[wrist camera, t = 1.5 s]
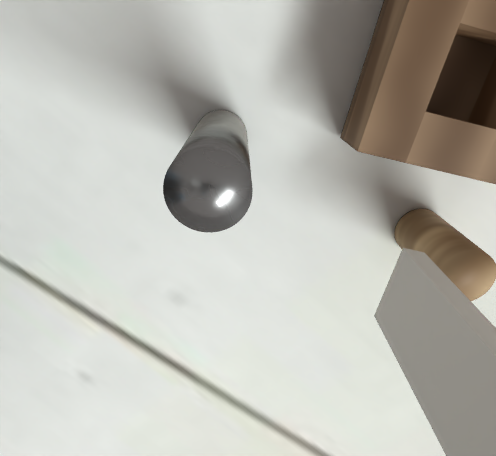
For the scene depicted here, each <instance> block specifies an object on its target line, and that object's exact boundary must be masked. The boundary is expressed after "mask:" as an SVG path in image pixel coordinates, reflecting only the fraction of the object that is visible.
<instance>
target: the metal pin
mask: <svg viewBox="0 0 496 456" xmlns="http://www.w3.org/2000/svg"><path fill="white" fill-rule="evenodd" d="M163 193H164V198H165V202H166V204H167V206H168V209H169V210H170V212H171V213H172V215H173V216H174V217H175V218H176V219H177V220H178V221H179V222H181V223H182V224H183V225H185V226H187V227H189V228H191V229H193V230H196V231H200V232H218V231H222V230H225V229H228V228H230V227H232V226H233V225H235V224H236V223H237V222H238V221H240V220H241V219H242V217H243V216H244V215H245V214H246V212H247V210H248V208H249V206H250V203H251V199H252V181H251V170H250V160H249V149H248V139H247V131H246V127H245V125H244V123H243V122H242V120H241V119H240V118H239V117H238V116H237V115H235V114H234V113H232V112H230V111H226V110H215V111H212V112H209V113H208V114H206V115H205V116H204V117H203V118H202V119H201V120H200V121H199V123H198V124H197V126H196V127H195V129H194V130H193V132H192V133H191V135H190V136H189V138H188V139H187V141H186V143H185V144H184V146H183V147H182V149H181V150H180V152H179V153H178V155H177V156H176V158H175V159H174V161H173V162H172V164H171V165H170V167H169V169H168V170H167V173H166V175H165V179H164V185H163Z"/></svg>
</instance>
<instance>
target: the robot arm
mask: <svg viewBox="0 0 496 456" xmlns="http://www.w3.org/2000/svg"><path fill="white" fill-rule="evenodd" d="M374 316H375V318H376V320H377V322H378V324H379V326H380V328H381V330H382V332H383V334H384V336H385V338H386V340H387V341H388V343H389V345H390V347H391V349H392V351H393V353H394V355H395V357H396V359H397V361H398V363H399V365H400V367H401V369H402V371H403V373H404V374H405V376H406V378H407V380H408V382H409V384H410V386H411V388H412V390H413V392H414V394H415V396H416V398H417V400H418V402H419V404H420V406H421V408H422V409H423V411H424V413H425V415H426V417H427V419H428V421H429V423H430V425H431V427H432V429H433V431H434V433H435V435H436V437H437V439H438V441H439V443H440V444H441V446H442V448H443V450H444V452H445V454H446V456H496V328H495V327H494V326H493V325H492V324H491V322H490V321H489V320H488V319H487V318H486V317H485V316H484V315H483V314H482V313H481V312H480V311H479V310H478V309H477V308H476V307H475V306H474V304H473V303H472V302H471V301H470V300H469V299H468V298H467V297H466V296H465V295H464V294H463V293H462V292H461V291H460V290H459V289H458V288H457V286H456V285H455V284H454V283H453V282H452V281H451V280H450V279H449V278H448V277H447V276H446V275H445V274H444V273H443V272H442V271H441V270H440V268H439V267H438V266H437V265H436V264H435V263H434V262H433V261H432V260H431V259H430V258H429V257H428V256H427V255H426V254H425V253H424V252H420V251H415V250H411V249H406V248H403V249H402V251H401V254H400V256H399V259H398V261H397V263H396V266H395V268H394V270H393V273H392V275H391V277H390V280H389V282H388V285H387V287H386V289H385V292H384V294H383V296H382V299H381V301H380V303H379V306H378V308H377V310H376V313H375V315H374Z"/></svg>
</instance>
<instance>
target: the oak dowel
mask: <svg viewBox="0 0 496 456" xmlns="http://www.w3.org/2000/svg"><path fill="white" fill-rule="evenodd" d="M395 240H396V242H397V244H398V245H399V246H400V247H401V249H403V248H406V249H411V250H415V251H420V252H424V253H425V254H426V255H427V256H428V257H429V258H430V259H431V260H432V261H433V262H434V263H435V264H436V265H437V266H438V267H439V268H440V270H441V271H442V272H443V273H444V274H445V275H446V276H447V277H448V278H449V279H450V280H451V281H452V282H453V283H454V284H455V285H456V286H457V288H458V289H459V290H460V291H461V292H462V293H463V294H464V295H465V296H466V297H467V298H468V299H469V300H470V301H473V300H475V299H477V298H479V297H481V296H482V295H484V294H485V293H486V292H487V291H488V290H489V289H490V288H491V287H492V285H493V283H494V281H495V279H496V264H495V262H494V260H493V259H492V258H491V257H490V256H489V255H488V254H487V253H485V252H484V251H483V250H482V249H480V248H479V247H478V246H477V245H475V244H474V243H473V242H471V241H470V240H469V239H468V238H466V237H465V236H464V235H463V234H461V233H460V232H459V231H457V230H456V229H455V228H454V227H452V226H451V225H450V224H448V223H447V222H446V221H445V220H443V219H442V218H441V217H440V216H438V215H437V214H436V213H434V212H433V211H431V210H428V209H416V210H413V211H410V212H408V213H407V214H405V215H404V216H403V217H402V218H401V219H400V220H399V222H398V223H397V225H396V228H395Z"/></svg>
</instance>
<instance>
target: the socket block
mask: <svg viewBox="0 0 496 456" xmlns="http://www.w3.org/2000/svg"><path fill="white" fill-rule="evenodd" d="M340 138H341V139H342V140H344V141H345V142H346V143H348V144H349V145H350V146H351V147H353V148H354V149H355V150H357V151H358V152H362V153H367V154H371V155H375V156H379V157H383V158H388V159H392V160H396V161H400V162H404V163H409V164H413V165H417V166H421V167H425V168H430V169H434V170H438V171H442V172H446V173H451V174H455V175H459V176H463V177H468V178H472V179H476V180H480V181H484V182H489V183H493V184H496V0H384V3H383V6H382V9H381V12H380V15H379V18H378V21H377V25H376V28H375V31H374V34H373V37H372V40H371V43H370V46H369V50H368V53H367V56H366V59H365V62H364V65H363V68H362V72H361V75H360V78H359V81H358V84H357V87H356V90H355V93H354V97H353V100H352V103H351V106H350V109H349V112H348V115H347V118H346V122H345V125H344V128H343V131H342V134H341V137H340Z"/></svg>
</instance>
